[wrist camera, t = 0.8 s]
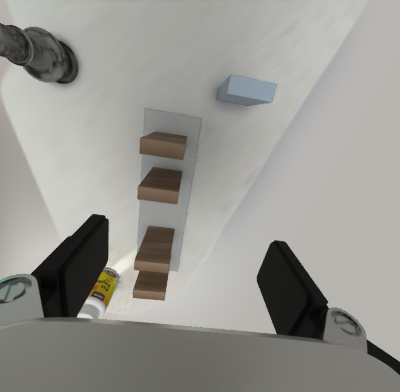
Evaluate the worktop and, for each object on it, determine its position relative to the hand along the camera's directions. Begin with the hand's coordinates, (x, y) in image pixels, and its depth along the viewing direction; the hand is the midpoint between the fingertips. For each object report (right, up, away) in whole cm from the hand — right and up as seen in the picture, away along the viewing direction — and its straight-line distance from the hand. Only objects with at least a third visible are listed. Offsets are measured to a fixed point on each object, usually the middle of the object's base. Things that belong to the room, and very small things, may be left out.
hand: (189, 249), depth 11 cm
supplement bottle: (-20, -15, +33) cm, 41 cm away
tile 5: (-8, -9, +30) cm, 33 cm away
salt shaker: (-20, +22, +17) cm, 34 cm away
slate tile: (+6, +19, +19) cm, 27 cm away
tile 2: (-5, +7, +23) cm, 25 cm away
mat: (-6, +2, +26) cm, 27 cm away
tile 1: (-4, +12, +21) cm, 25 cm away
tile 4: (-7, -4, +28) cm, 29 cm away
